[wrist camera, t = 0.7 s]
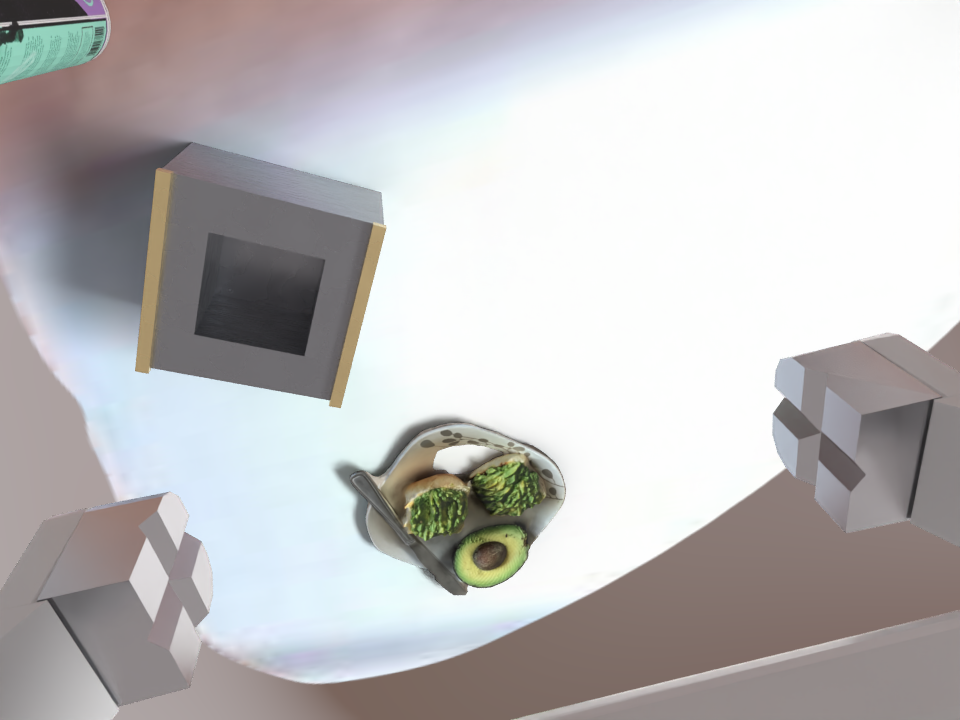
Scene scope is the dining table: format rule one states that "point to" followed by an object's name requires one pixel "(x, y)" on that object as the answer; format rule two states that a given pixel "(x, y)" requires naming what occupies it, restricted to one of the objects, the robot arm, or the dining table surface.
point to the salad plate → (462, 507)
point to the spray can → (50, 35)
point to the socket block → (257, 273)
